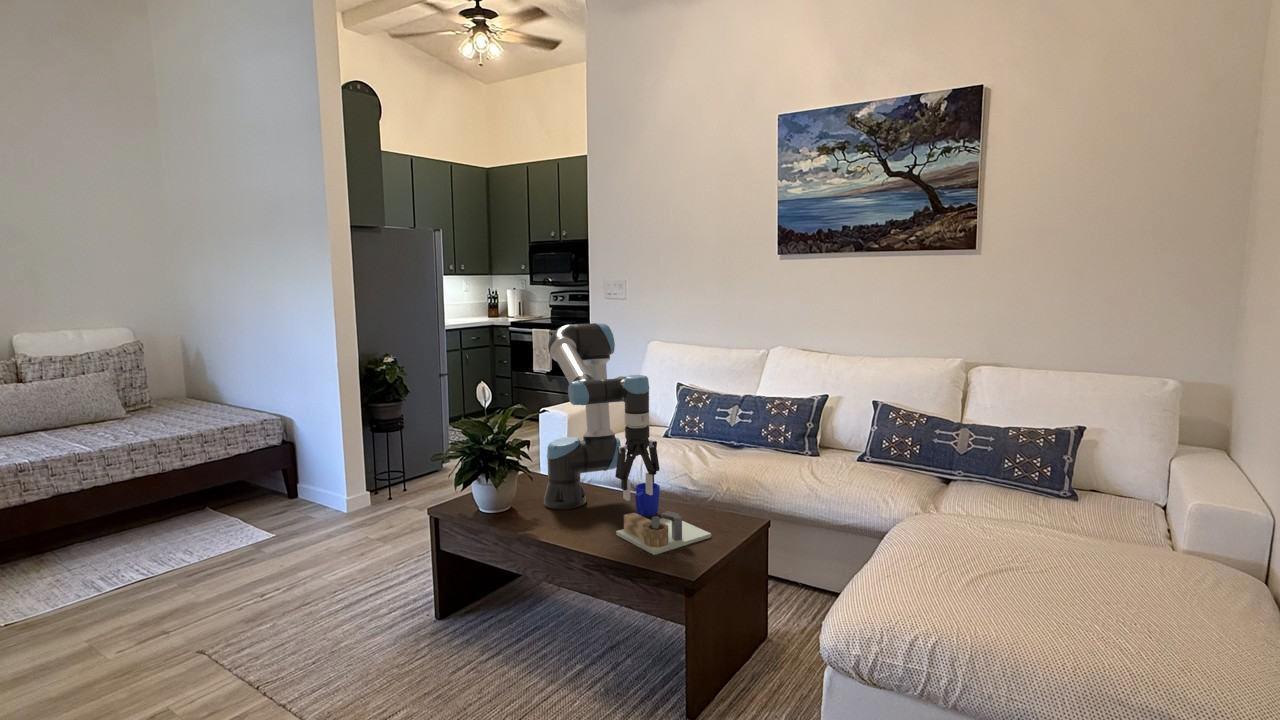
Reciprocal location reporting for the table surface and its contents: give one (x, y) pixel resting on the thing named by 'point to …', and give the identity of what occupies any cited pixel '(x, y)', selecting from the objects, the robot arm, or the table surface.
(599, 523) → the table surface
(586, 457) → the robot arm
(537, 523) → the table surface
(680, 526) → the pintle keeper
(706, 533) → the board
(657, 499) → the mug
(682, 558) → the table surface
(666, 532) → the link
